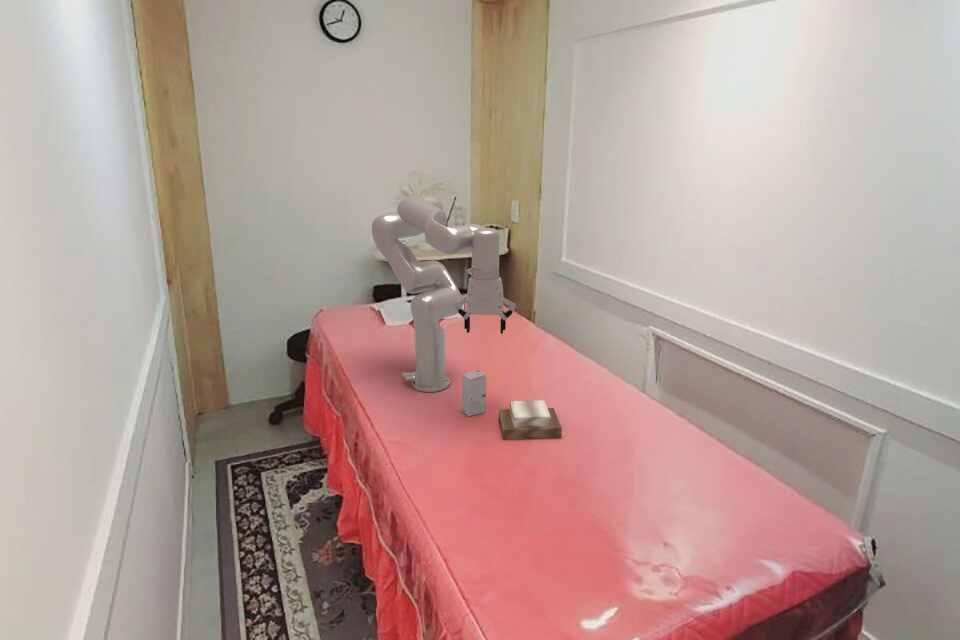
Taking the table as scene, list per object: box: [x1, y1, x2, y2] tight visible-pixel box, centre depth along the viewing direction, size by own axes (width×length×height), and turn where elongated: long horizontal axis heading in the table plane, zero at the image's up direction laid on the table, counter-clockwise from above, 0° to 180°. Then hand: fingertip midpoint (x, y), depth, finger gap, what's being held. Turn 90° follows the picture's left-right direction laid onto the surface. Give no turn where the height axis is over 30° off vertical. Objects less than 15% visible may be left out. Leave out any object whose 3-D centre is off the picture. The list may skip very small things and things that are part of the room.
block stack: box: [498, 399, 563, 440], centre depth 164 cm, size 16×12×6 cm
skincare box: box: [461, 369, 487, 417], centre depth 172 cm, size 6×4×12 cm
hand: (485, 331), depth 167 cm, fingers open, 9 cm apart
